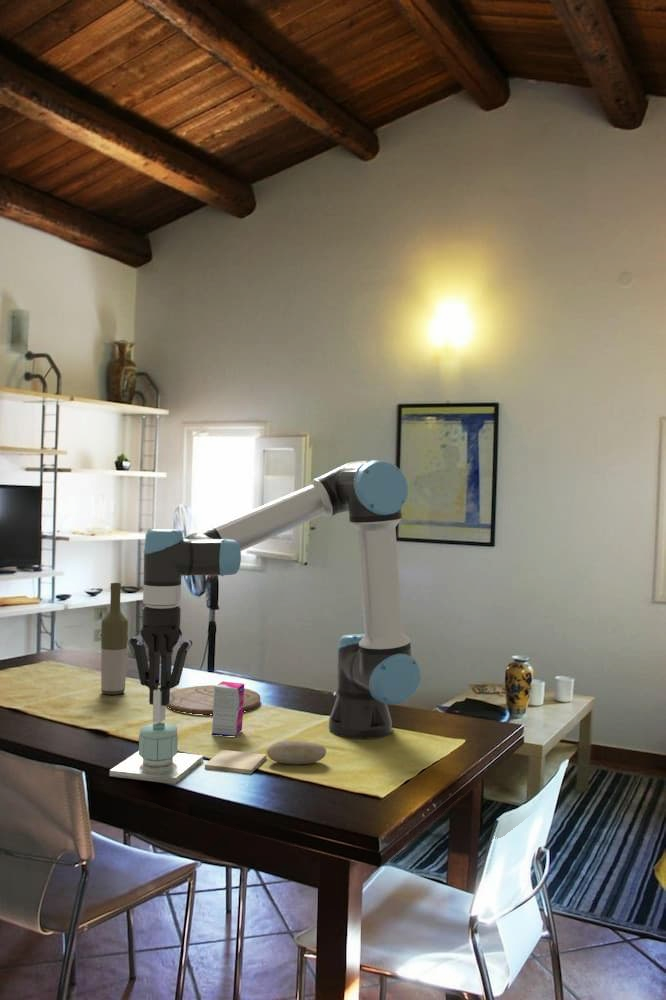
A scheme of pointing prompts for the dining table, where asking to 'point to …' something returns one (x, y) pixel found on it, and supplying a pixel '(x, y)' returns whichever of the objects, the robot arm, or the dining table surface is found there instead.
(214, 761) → the coaster
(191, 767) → the post
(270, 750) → the stone
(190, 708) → the trivet
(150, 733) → the cap
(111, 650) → the bottle
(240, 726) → the supplement box
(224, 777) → the dining table surface
